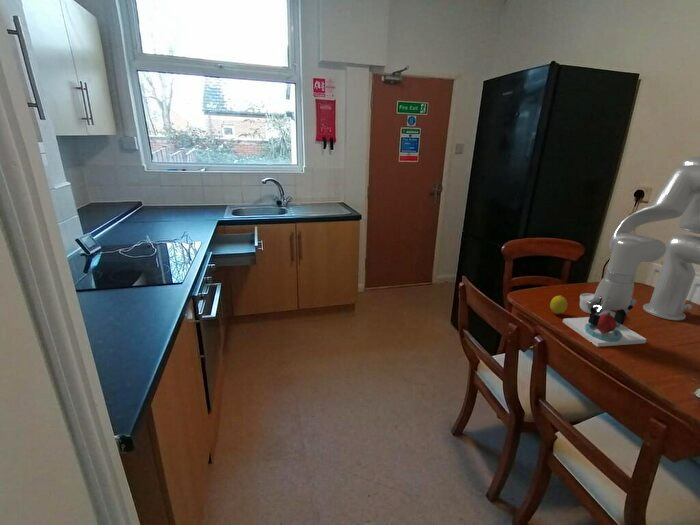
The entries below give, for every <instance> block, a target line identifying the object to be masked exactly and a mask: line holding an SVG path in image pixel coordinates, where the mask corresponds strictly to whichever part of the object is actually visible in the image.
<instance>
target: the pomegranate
mask: <svg viewBox="0 0 700 525" xmlns="http://www.w3.org/2000/svg"><path fill="white" fill-rule="evenodd" d="M596 328H597V329H598V330H599V331H600V332H601V333H602V334H605V333H608V332H611V331H613V330H614V329H615V328H616V321H615V319H614V318H613V317H612V316H611V315H610V312H608V313H606V314H602V315H600V319H599V322H598V325H597V326H596Z"/></svg>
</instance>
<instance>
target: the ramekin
mask: <svg viewBox="0 0 700 525" xmlns="http://www.w3.org/2000/svg"><path fill="white" fill-rule="evenodd" d="M594 295H595V293H589V292H588V293H587V292H586V293H581V294H580V295H579V307H580V309H581V310H582V311H583V312H584V313H587V314H588V315H590V313H591V312H590V311H589V309H588V305H587V302H588V301H590V300H592V299H593V298H594ZM600 306H601V305H600ZM601 307H602V306H601ZM596 310H599V308H597V309H596ZM609 311H611V310H609Z"/></svg>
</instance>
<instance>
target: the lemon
mask: <svg viewBox="0 0 700 525" xmlns="http://www.w3.org/2000/svg"><path fill="white" fill-rule="evenodd" d="M549 308H550V310H551V311H552V312H553V313H554V314H555V315H559V314H563V313H564V312H566V310H567V308H568V301H567V298H565V297H564V296H562V295H556V296H554V297H553V298H552V299H551V301H550V304H549Z"/></svg>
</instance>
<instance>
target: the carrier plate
mask: <svg viewBox="0 0 700 525" xmlns="http://www.w3.org/2000/svg"><path fill="white" fill-rule="evenodd" d="M596 311H597V310H596ZM608 312H610V315H611V316H612V317H613V318H614V317H615V314H616V311H613V310H610V311H609V310H603V311H602V312H601V313H600V314H599V316H600V315H602V314H606V313H608ZM589 317H590V316H584V317H571V318H570V317H567V318H566V317H565V318H563V319H562V323H563V324H564V325H566V326H568V328H570V329H571V330H573V331H575V332H576V333H577V334H579V335H580V336H581V337H583V338H584V339H585V340H587V341H588V342H590V343H591V342H592V343H591V344H593V345H594V346H596V347H599V348H600V347H612V346H623V345H624V346H625V345H637V344H638V345H639V344H646V343H647V341H648V339H647V338H645V337H644V336H642V335H641V334H639V333H637V332H636V331H633V330H631V329H630V328H628V327H627V326H625V325H624V324H619V323H618V322H616V328H615V329H614V330H613V331H611V332H608V333H605V334H602V333H601V332H600V331H599V330H598V329H597V328H596V326H594V325H592V324H591V323H589V322H588V320H589Z"/></svg>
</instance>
